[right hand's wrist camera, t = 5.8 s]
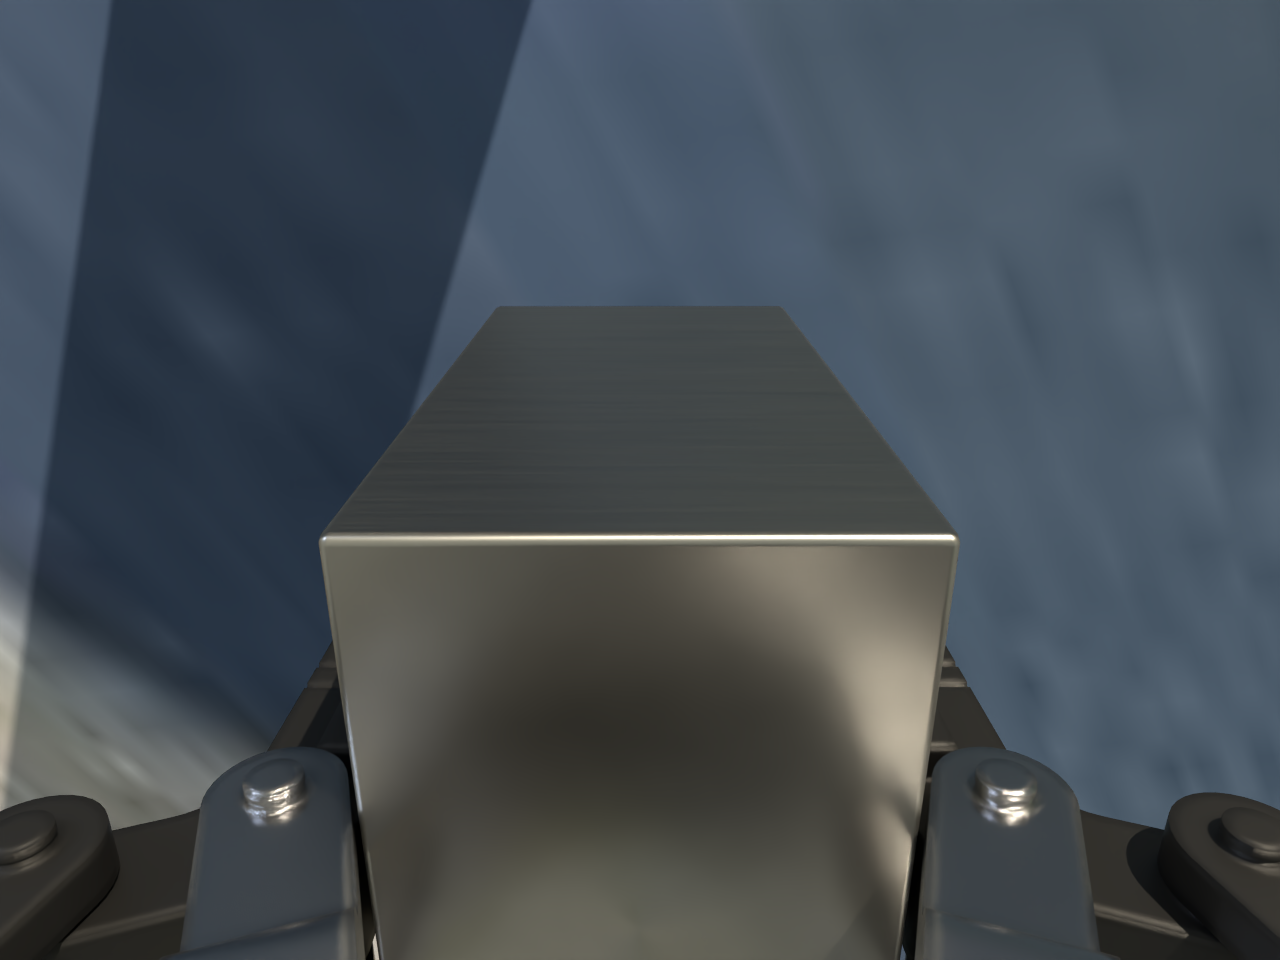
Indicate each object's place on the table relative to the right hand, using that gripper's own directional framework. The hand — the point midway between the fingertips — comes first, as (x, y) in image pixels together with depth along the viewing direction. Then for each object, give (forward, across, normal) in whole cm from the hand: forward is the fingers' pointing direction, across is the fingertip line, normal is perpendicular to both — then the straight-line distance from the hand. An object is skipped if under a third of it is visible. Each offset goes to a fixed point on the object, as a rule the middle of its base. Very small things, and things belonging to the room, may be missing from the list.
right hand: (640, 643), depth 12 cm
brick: (+4, 0, 0) cm, 4 cm away
